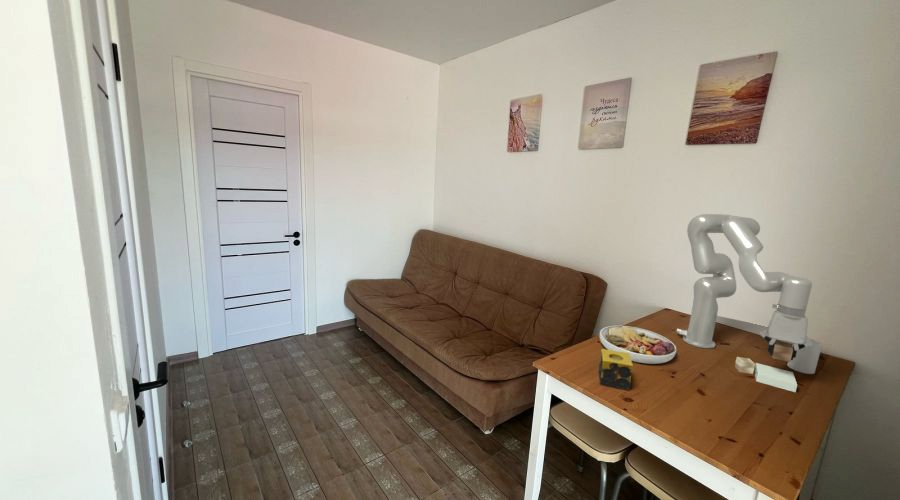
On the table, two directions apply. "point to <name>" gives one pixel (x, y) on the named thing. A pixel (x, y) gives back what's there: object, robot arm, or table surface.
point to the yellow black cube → (615, 369)
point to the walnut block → (782, 351)
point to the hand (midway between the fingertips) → (780, 355)
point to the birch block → (744, 365)
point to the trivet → (775, 377)
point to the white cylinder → (806, 358)
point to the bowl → (638, 344)
